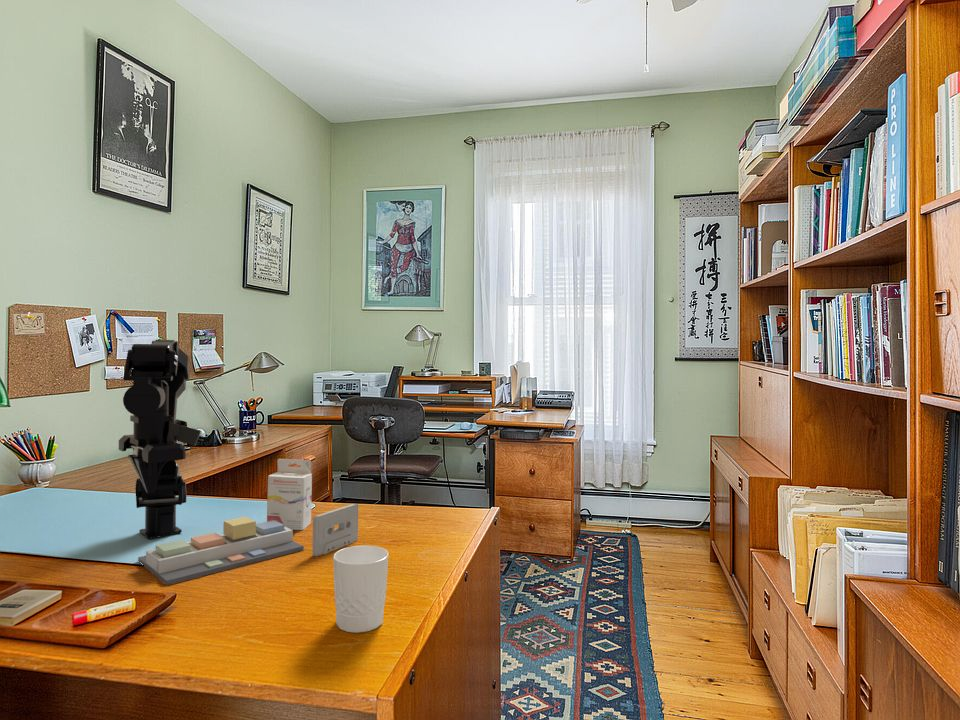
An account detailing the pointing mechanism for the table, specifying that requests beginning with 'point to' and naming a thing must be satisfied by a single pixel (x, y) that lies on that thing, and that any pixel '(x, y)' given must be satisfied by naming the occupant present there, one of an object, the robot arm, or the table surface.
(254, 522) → the key ochre
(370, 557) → the white cup
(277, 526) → the key slate
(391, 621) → the table surface
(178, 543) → the key sage
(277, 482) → the ink cartridge box
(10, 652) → the table surface
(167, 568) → the keypad base
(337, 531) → the cassette
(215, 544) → the key terracotta
